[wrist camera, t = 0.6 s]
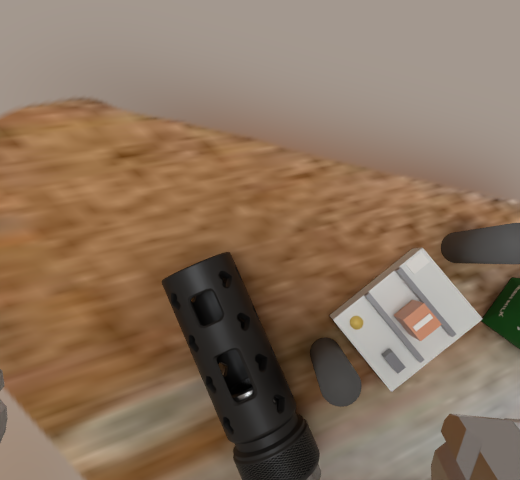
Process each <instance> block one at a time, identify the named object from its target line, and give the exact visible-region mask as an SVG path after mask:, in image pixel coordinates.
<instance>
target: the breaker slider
mask: <svg viewBox="0 0 520 480" xmlns="http://www.w3.org/2000/svg"><path fill="white" fill-rule="evenodd" d="M394 317H395V318H396V319H397V320H398V321H399V323H400V324H401V325H402V326H403V328H404V329H405V330H406V331H407V332H408V334H409V335H411V336H412V337H414V338H416V339H417V340H419V341H422V340H423V339H424V338H426V337H427V336H428V335H429V334H431V333H432V332H433V331H434V330H436V329H437V328H438V327H439V326H441V325H442V324H441V323H440V321H439V320H438V319H437V318H436V317H435V315H434V314H433V313H432V312H431V311H430V309H429V308H428V307H427V306H426V305H425V303H422V302H419V301H416V300H412V301H410V302H409V303H408V304H407V305H405V306H404V307H403V308H402V309H400V310H399V311H398V312H397V313H395V314H394Z"/></svg>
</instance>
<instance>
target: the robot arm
mask: <svg viewBox="0 0 520 480" xmlns="http://www.w3.org/2000/svg"><path fill="white" fill-rule="evenodd" d="M3 387H4V380H3V373H2V370H1V369H0V391H1V390H2V388H3ZM6 423H7V408H6V405H5V404H4V403H3V402H2V401H1V400H0V442H1V440H2V438H3V435H4V433H5V430H6ZM441 432H442V434H443V436H444V438H445V440H446V442H445V443H444V444H443V445H441V446H440V447H439V448H438V449H436V450H435V452H434V456H433V460H432V464H431V479H432V480H520V419H507V418H505V419H498V418H488V417H477V416H467V415H457V414H449V415H448V417H447V418H446V419H445V420H444V423H443V426H442V429H441Z"/></svg>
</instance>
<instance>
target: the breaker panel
mask: <svg viewBox="0 0 520 480" xmlns="http://www.w3.org/2000/svg"><path fill="white" fill-rule="evenodd" d="M412 300H416V301H419V302H422V303H425V305H426V306H427V307H428V308H429V309H430V311H431V312H432V313H433V314H434V315H435V317H436V318H437V319H438V320H439V321H440V323H441V324H442V325H441V326H439V327H438V328H437V329H436V330H434V331H433V332H432V333H431V334H429V335H428V336H427V337H426V338H424V339H423V340H422V341H419V340H417V339H416V338H414V337H412V336H411V335H409V334H408V332H407V331H406V330H405V329H404V328H403V326H402V325H401V324H400V323H399V321H398V320H397V319H396V318H395V317H394V314H395V313H397V312H398V311H399V310H400V309H402V308H403V307H404V306H405V305H407V304H408V303H409V302H410V301H412ZM329 316H330V317H331V318H332V319H333V321H334V322H335V323H336V324H337V326H338V327H339V328H340V329H341V331H342V332H343V333H344V334H345V335H346V337H347V338H348V339H349V340H350V342H351V343H352V344H353V345H354V347H355V348H356V349H357V350H358V351H359V353H360V354H361V355H362V356H363V358H364V359H365V360H366V361H367V363H368V364H369V365H370V366H371V368H372V369H373V370H374V371H375V372H376V374H377V375H378V376H379V377H380V379H381V380H382V381H383V382H384V384H385V385H386V386H387V387H388V388H389V390H390V391H391V392H392V391H393V390H395V389H396V388H397V387H398V386H400V385H401V384H402V383H403V382H405V381H406V380H407V379H408V378H410V377H411V376H412V375H413V374H415V373H416V372H417V371H418V370H420V369H421V368H422V367H423V366H425V365H426V364H427V363H428V362H430V361H431V360H432V359H433V358H435V357H436V356H437V355H438V354H440V353H441V352H442V351H443V350H445V349H446V348H447V347H448V346H450V345H451V344H452V343H453V342H455V341H456V340H457V339H458V338H460V337H461V336H462V335H463V334H465V333H466V332H467V331H468V330H470V329H471V328H472V327H473V326H475V325H476V324H477V323H478V322H480V321H481V320H482V318H481V316H480V315H479V314H478V313H477V312H476V310H475V309H474V308H473V307H472V306H471V305H470V303H469V302H468V301H467V300H466V299H465V297H464V296H463V295H462V294H461V293H460V291H459V290H458V289H457V288H456V287H455V286H454V284H453V283H452V282H451V281H450V280H449V278H448V277H447V276H446V275H445V274H444V272H443V271H442V270H441V269H440V268H439V267H438V265H437V264H436V263H435V262H434V261H433V259H432V258H431V257H430V256H429V255H428V254H427V252H426V251H425V250H424V249H423V248H414V249H411V250H410V251H409V252H407V253H406V254H405V255H404V256H402V257H401V258H400V259H399V260H397V261H396V262H395V263H394V264H393V265H391V266H390V267H389V268H388V269H386V270H385V271H384V272H383V273H381V274H380V275H379V276H378V277H376V278H375V279H374V280H373V281H371V282H370V283H369V284H368V285H366V286H365V287H364V288H363V289H361V290H360V291H359V292H358V293H356V294H355V295H354V296H353V297H352V298H350V299H349V300H348V301H347V302H345V303H344V304H343V305H342V306H340V307H339V308H338V309H337V310H335V311H334V312H333V313H332V314H330V315H329Z"/></svg>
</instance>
